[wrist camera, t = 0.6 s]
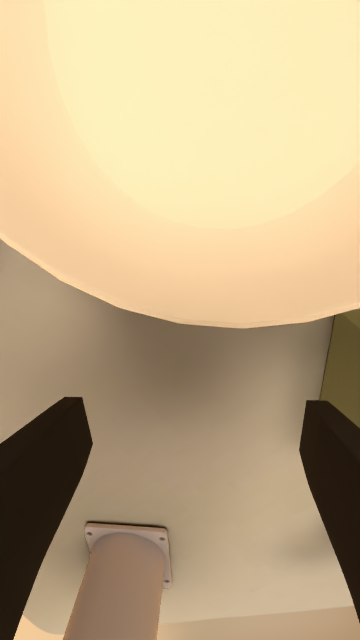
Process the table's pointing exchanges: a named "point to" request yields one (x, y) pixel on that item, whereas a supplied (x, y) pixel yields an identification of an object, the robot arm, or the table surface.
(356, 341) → the tissue box
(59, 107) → the bowl
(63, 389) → the table surface
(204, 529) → the table surface
